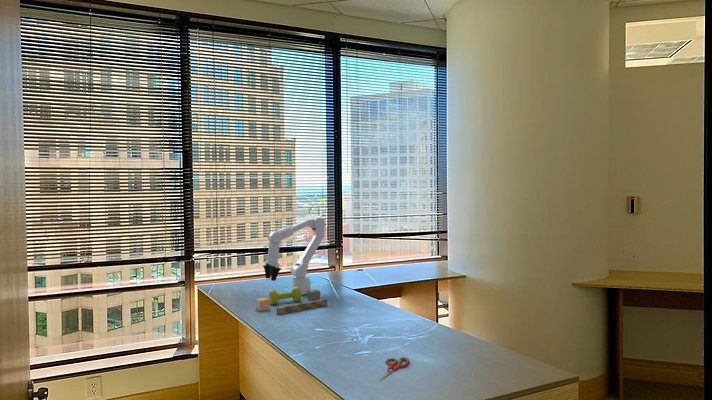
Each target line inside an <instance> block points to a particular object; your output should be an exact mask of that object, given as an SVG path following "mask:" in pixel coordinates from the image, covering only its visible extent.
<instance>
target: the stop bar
mask: <svg viewBox="0 0 712 400" xmlns="http://www.w3.org/2000/svg"><path fill="white" fill-rule="evenodd" d="M321 307H328V299H326V298H321V300H316V301H306V302H301V303H294V304H288V305H282V306H278V307H277V306H276V314H277V315H278V316H279V315H284V314H289V313H294V312H301V311H305V310H310V309H317V308H321Z"/></svg>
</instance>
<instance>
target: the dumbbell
mask: <svg viewBox="0 0 712 400" xmlns="http://www.w3.org/2000/svg"><path fill="white" fill-rule="evenodd" d="M268 299H269V300H270V306H271V305H273V306H274V305H277V304H278V302H279V301H280V300H286V299H292V300H293V301H294V302H301V300H302V295H301V290H300V288H299V287H294V288H293V287H292V289H291V290H290V291H288V292H282V293H281V292H280V293H278V292H277V291H276V290H275V289H269V290H268Z"/></svg>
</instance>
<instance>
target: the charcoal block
mask: <svg viewBox="0 0 712 400" xmlns="http://www.w3.org/2000/svg"><path fill="white" fill-rule="evenodd" d="M306 295H307V296H306V297H307V298H306V299H307V302H310V301H316V300H322V298H321V290H318V289H311V290H309V291H307V294H306Z"/></svg>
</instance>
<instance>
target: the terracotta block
mask: <svg viewBox="0 0 712 400" xmlns="http://www.w3.org/2000/svg"><path fill="white" fill-rule="evenodd" d="M255 306H256V307H255V310H257V311H260V312H263V310H264V311H267V310H268V309H269V310H270V309H271V307H270V306H271V304H270V300H269V298H267V297H261V298H255Z"/></svg>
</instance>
